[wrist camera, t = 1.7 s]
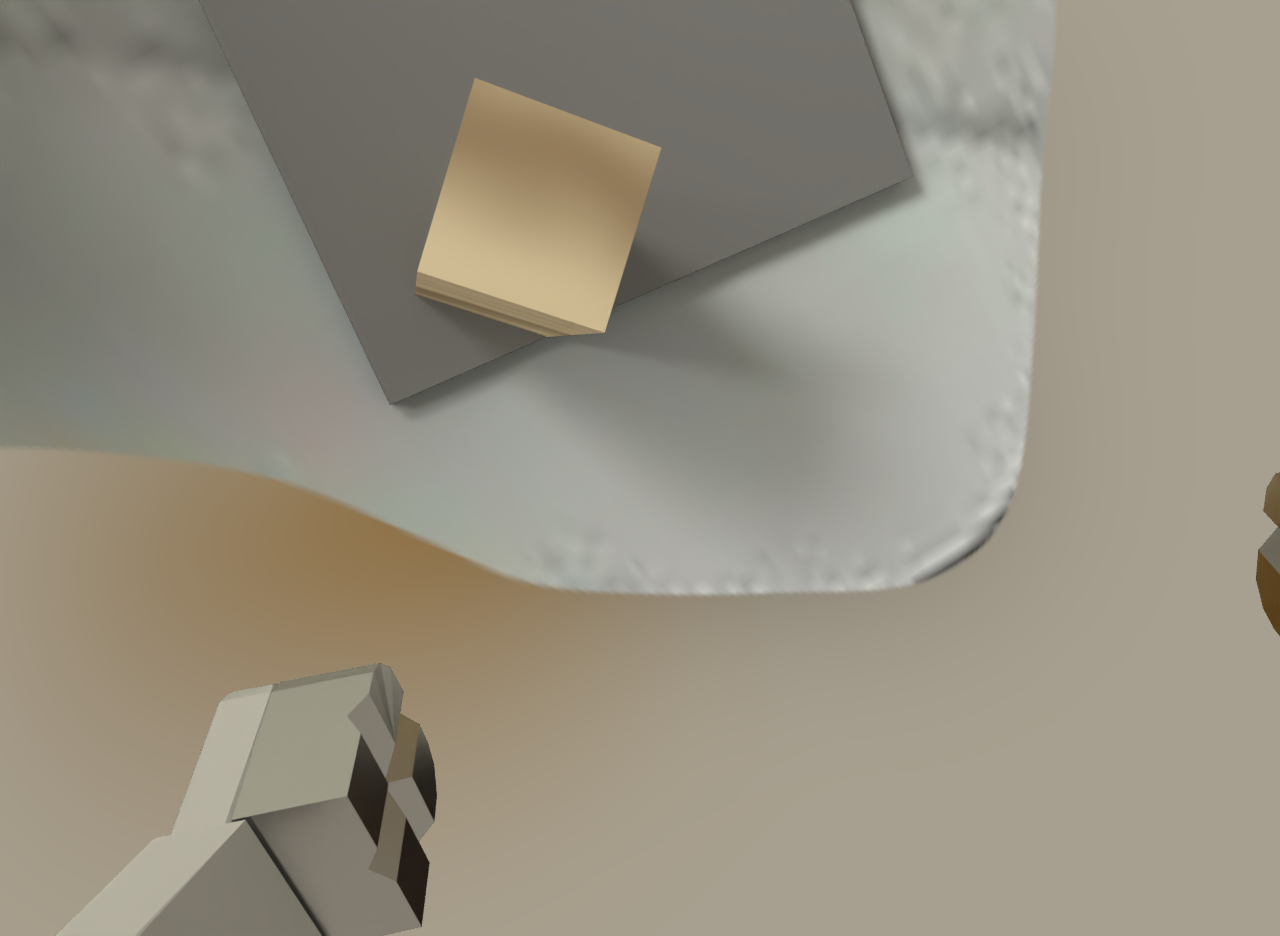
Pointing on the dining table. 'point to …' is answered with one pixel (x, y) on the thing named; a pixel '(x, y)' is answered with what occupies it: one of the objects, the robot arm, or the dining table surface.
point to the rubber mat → (575, 83)
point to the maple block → (535, 215)
